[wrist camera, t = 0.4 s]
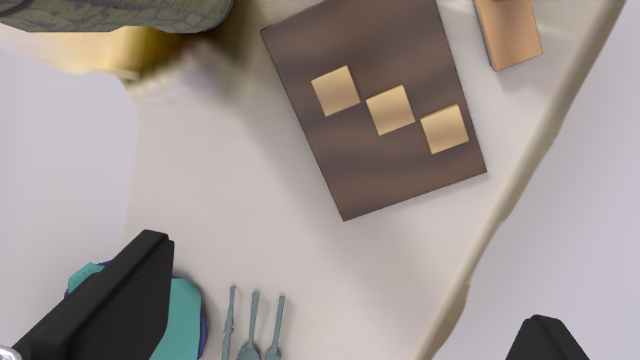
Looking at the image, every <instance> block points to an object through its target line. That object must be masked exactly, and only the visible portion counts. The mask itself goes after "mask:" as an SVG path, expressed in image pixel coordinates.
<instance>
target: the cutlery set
mask: <svg viewBox="0 0 640 360" xmlns="http://www.w3.org/2000/svg"><path fill="white" fill-rule="evenodd" d="M109 262H110V261H107V262H103V263H99V264H93V263H91V262H90V263H89V264H87V265H86V266H85V267H83V268H82V269H80V270H79V271H77V272H76V273H75V274H74V275H72V276H70V278H69V281H68V289H67V290H66V292H65V295H64V298H65V297H66V296H68V295H69V294H70V293H71V292H72V291H73V290H74V289H75V288H76V287H77V286H78V285H79V284H80V283H82V282H83V281H84V280H85V279H86V278H87V277H88V276H89V275H91V274H92V273H95V272H100V271H101V270H102V269H103V268H104V267H105V266H106V265H107V264H108V263H109ZM235 288H236V287H234V286H231V287H230V290H231V291H230V305H229V310H228V318H227V320H226V323H225V326H226V327H225V330H224V332H225V333H226V335H225V338H224V342H223V348H222V359H221V360H228V353H229V343H230V333H231V334H232V332H233V329H234V328H232V325H233V319H232V311H233V297H234V290H235ZM259 294H260V293H255V292H253V294H252V297H253V298H252V306H251V319H250V334H249V344H248V345H247V346H246V347H244V348H243V349H242V350H241V351H239V354H238V357H237V359H236V360H259V354H258V352H257V351H256V350H255V348H254V347H253V344H252V340H253V333H254V325H255V318H256V312H257V305H258V299H259ZM284 299H285V297H284V296H280V298H279V305H278V312H277V319H276V326H275V333H274V339H273V345H272V347H271V350H269V351H267V354H266V360H280V357H281V353H280V352H279V351H278V347H277V345H278V339H279V332H280V325H281V319H282V311H283V305H284ZM206 340H207V329H206V320H205V316H204V314H203V312H202V310H201V294H200V292H199V290H198V289H197V288H196V286H195V285H194V284H193V283H192V282H191V281H190V280H188V279H175V278H173V277H172V281H171V293H170V305H169V316H168V325H167V329H166V332H165V334H164V336H163V338H162V340H161V341H160V343H159V344H158V346H157V348H156V349H155V351H154V353H153V354H152V356H151V357H150V359H149V360H198V359H199V358H200V357H201V356H202V354H203V350H204V347H205V343H206Z"/></svg>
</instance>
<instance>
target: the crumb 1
mask: <svg viewBox="0 0 640 360" xmlns="http://www.w3.org/2000/svg"><path fill="white" fill-rule="evenodd" d="M311 83H312V85H313V88H314V90H315V92H316V95H317V97H318V99H319V102H320V104H321V107H322V109H323V111H324V114H325V116H326V117H327V116H329V115H332V114H334V113H337V112H339V111H341V110H344V109H346V108H349V107H351V106H354V105H356V104H359V103H361V100H360V97H359V94H358V92H357V89H356V87H355V84H354V81H353V79H352V76H351V74H350V71H349V68H348V66H347V65H346V66H343V67H341V68H339V69H336V70H334V71H332V72H329V73H327V74H325V75H322V76H320V77H318V78H315V79H313V80H312V81H311Z"/></svg>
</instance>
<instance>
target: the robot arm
mask: <svg viewBox="0 0 640 360" xmlns="http://www.w3.org/2000/svg"><path fill="white" fill-rule="evenodd" d="M173 258H174V241H171V240H169V237H168V235H167V234H165V233H161V232H156V231H152V230H147V229H145V230H143V231H142V232H141V233H140V234H139V235H138V236H137V237H136V238H135V239H134V240H132V241H131V242H130V243H129V244H128V245H127V246H126V247H125V248H124V249H123V250H122V251H121V252H120V253H119V254H118V255H117V256H116V257H115V258H114V259H112V260H111V261H110V262H109V263H108V264H107V265H106V266H105V267H104V268H103V269H102V270H101V271H100V272H95V273H92V274H91V275H89V276H88V277H87V278H86V279H85V280H84V281H83V282H82V283H80V284H79V285H78V286H77V287H76V288H75V289H74V290H73V291H72V292H71V293H70V294H69V295H68V296H66V297H65V298H64V299H63V300H62V301H61V302H60V303H59V304H58V305H57V306H56V307H55V308H54V309H52V310H51V311H50V312H49V313H48V314H47V315H46V316H45V317H44V318H43V319H42V320H40V321H39V322H38V323H37V324H36V325H35V326H34V327H33V328H32V329H31V330H30V331H29V332H28V333H26V334H25V335H24V336H23V337H22V338H21V339H20V340H19V341H18V342H17V343H16V344H15V345H13V346H12V347H11V348H10V347H6V346H3V345H0V360H149V359H150V357H151V356H152V354H153V353H154V351H155V349H156V348H157V346H158V344H159V343H160V341H161V340H162V338H163V336H164V334H165V332H166V329H167V325H168V316H169V305H170V293H171V281H172V269H173ZM505 360H590V359H589V358H588V357H587V355H586V354H585V353H584V351H583V350H582V348H581V347H580V346H579V344H578V343H577V342H576V340H575V339H574V337H573V336H572V335H571V333H570V332H569V331H568V329H567V328H566V327H565V325H564V324H563V323H562V322H561V321H560V320H558V319H556V318H551V317H546V316H542V315H533V316H532V317H531V318H530V319H526V320H525V321H524V322H523V324H522V326H521V328H520V330H519V332H518V334H517V336H516V338H515V341H514V342H513V345H512V347H511V349H510V351H509V353H508V355H507V357H506V359H505Z"/></svg>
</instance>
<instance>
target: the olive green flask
mask: <svg viewBox="0 0 640 360" xmlns="http://www.w3.org/2000/svg"><path fill="white" fill-rule="evenodd" d="M233 2H234V0H0V23H2V24H5V25H8V26H11V27H14V28H17V29H20V30H23V31H26V32H110V31H113V30H115V29H118V28H120V27H123V26H152V27H154V28H156V29H159V30H162V31H165V32H168V33H197V32H200V31H206V30H209V29H212V28H214V27H216V26H218V25H219V24H220V23H221V22H222V21H223V20H225V19H226V17H227V15H228V14H229V12H230V10H231V8H232V6H233Z"/></svg>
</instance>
